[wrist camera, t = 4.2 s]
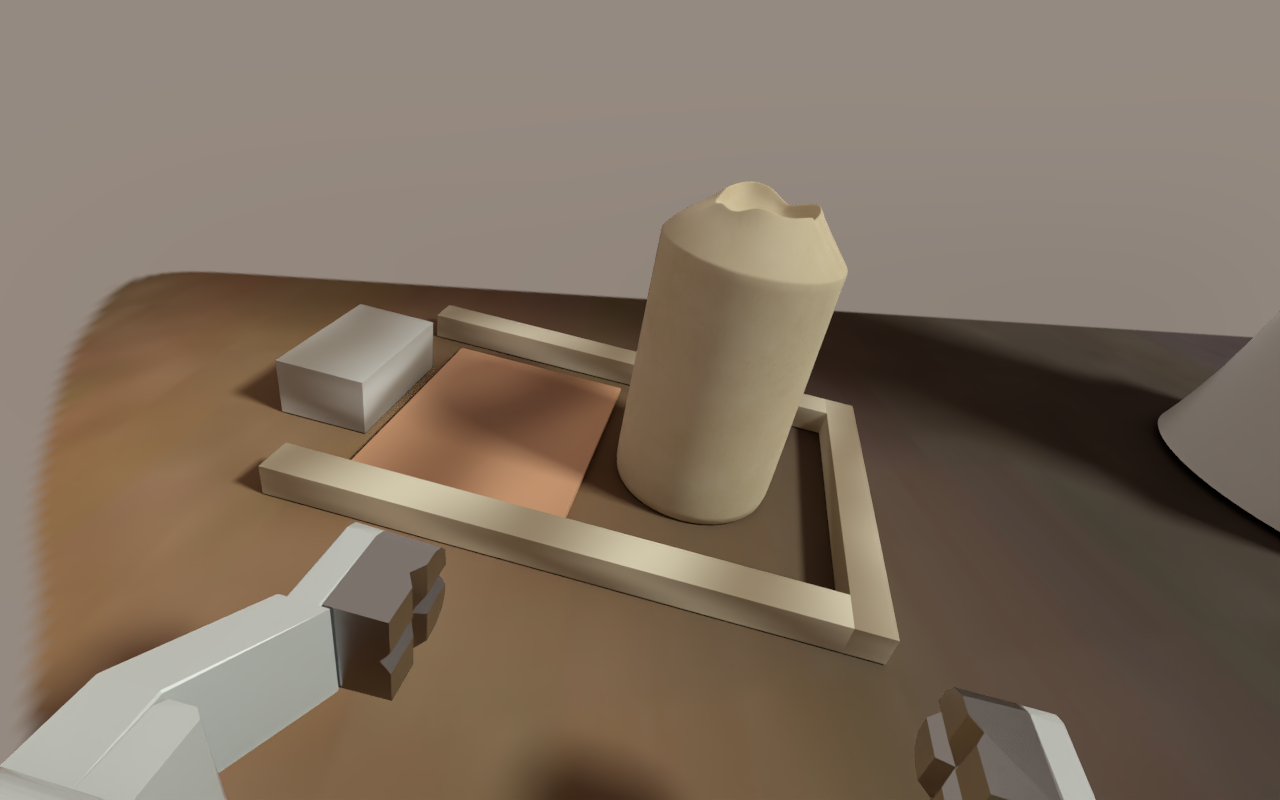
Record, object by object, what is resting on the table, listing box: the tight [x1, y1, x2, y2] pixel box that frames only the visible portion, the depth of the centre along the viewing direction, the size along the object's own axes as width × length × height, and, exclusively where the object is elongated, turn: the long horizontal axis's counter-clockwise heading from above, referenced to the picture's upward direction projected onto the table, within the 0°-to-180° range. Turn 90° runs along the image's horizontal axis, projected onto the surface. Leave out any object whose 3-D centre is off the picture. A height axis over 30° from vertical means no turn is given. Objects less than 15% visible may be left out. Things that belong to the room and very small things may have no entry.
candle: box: [617, 181, 848, 524], centre depth 21 cm, size 6×6×10 cm
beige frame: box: [258, 304, 900, 665], centre depth 23 cm, size 20×12×2 cm, turn 80°
